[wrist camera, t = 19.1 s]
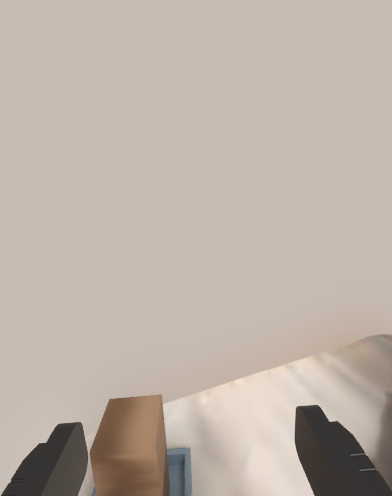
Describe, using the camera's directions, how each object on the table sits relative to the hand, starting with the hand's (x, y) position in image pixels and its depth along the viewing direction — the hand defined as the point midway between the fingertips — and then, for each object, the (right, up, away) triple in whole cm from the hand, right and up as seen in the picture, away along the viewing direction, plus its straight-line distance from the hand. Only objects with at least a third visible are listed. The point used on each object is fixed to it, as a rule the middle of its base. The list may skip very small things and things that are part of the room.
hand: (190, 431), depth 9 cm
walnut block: (-5, -19, +14) cm, 24 cm away
